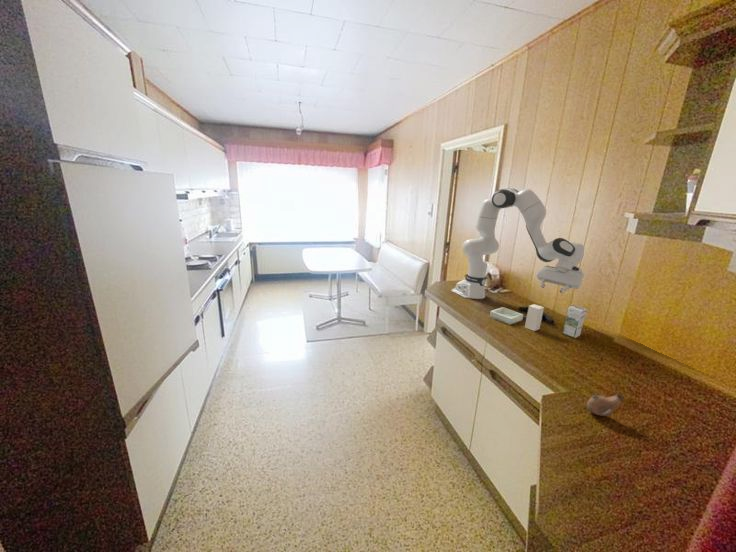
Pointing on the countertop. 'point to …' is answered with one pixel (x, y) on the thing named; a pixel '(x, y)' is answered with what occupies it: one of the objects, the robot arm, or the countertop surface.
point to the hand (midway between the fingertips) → (551, 289)
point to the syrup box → (574, 321)
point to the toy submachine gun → (544, 316)
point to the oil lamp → (603, 404)
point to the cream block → (534, 317)
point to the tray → (506, 315)
